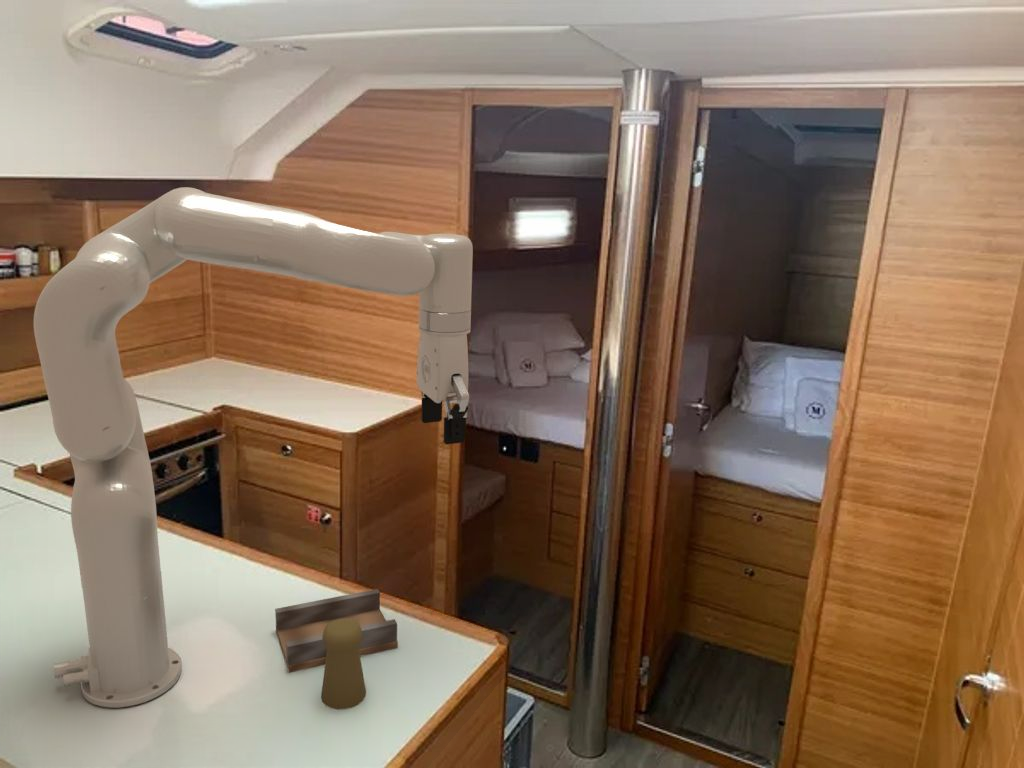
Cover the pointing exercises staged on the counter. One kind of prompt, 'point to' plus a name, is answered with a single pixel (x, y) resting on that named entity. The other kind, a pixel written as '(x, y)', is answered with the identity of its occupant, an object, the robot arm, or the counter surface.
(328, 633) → the olive brown pawn
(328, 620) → the track
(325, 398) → the counter surface
